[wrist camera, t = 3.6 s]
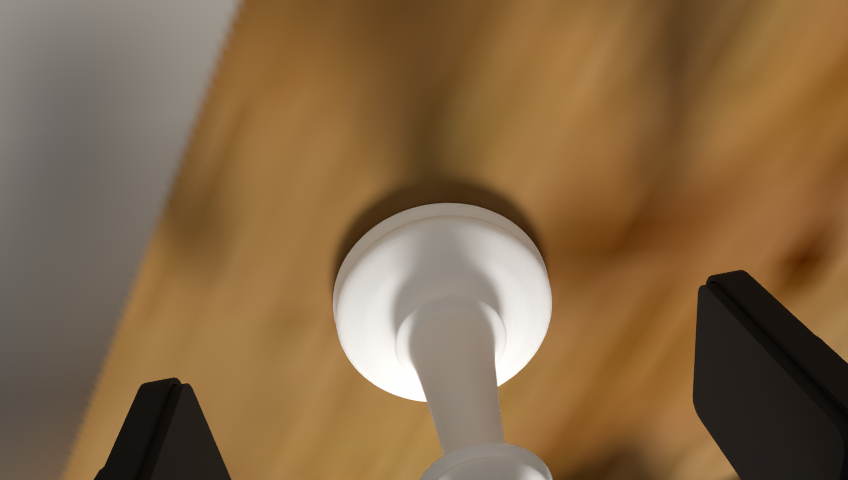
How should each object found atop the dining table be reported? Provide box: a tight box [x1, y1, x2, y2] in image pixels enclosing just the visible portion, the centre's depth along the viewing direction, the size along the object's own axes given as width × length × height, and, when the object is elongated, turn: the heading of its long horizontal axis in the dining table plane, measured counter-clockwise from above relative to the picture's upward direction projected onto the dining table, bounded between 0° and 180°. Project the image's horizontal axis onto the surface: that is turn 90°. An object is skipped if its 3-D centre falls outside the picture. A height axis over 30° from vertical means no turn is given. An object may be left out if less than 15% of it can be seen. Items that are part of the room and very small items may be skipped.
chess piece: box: [333, 203, 553, 480], centre depth 10 cm, size 5×5×10 cm
